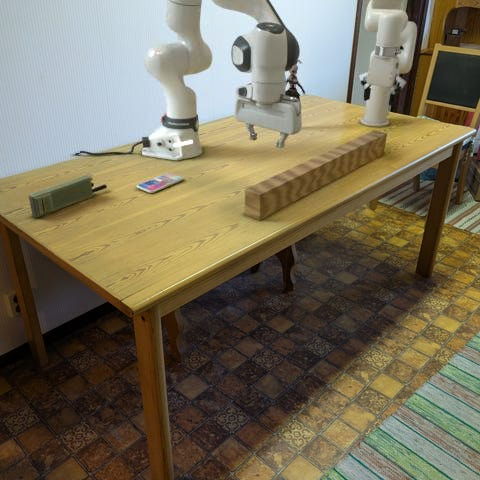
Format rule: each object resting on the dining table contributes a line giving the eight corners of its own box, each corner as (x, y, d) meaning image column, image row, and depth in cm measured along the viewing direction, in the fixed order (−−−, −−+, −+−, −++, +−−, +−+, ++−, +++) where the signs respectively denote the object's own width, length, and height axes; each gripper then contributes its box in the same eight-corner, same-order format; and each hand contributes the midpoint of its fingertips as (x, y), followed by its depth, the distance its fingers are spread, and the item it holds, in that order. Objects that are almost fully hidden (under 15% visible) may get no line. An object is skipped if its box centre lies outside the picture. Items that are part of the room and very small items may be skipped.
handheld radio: (30, 215, 144) (102, 188, 161) (37, 219, 142) (109, 191, 159) (26, 193, 140) (100, 168, 157) (33, 197, 138) (107, 171, 155)
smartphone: (184, 177, 167) (150, 191, 157) (184, 180, 167) (151, 194, 157) (168, 171, 171) (134, 185, 161) (168, 174, 171) (135, 188, 161)
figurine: (282, 133, 213) (286, 58, 198) (272, 129, 216) (275, 56, 202) (305, 126, 221) (311, 54, 206) (295, 123, 225) (300, 52, 210)
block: (259, 220, 143) (260, 194, 139) (244, 214, 146) (244, 189, 142) (384, 153, 193) (387, 133, 189) (371, 150, 196) (373, 130, 192)
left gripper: (308, 96, 127) (304, 149, 133) (246, 83, 138) (245, 133, 145) (294, 100, 122) (290, 155, 129) (230, 87, 134) (230, 138, 141)
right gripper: (415, 53, 170) (406, 104, 178) (368, 47, 179) (362, 96, 188) (405, 56, 165) (396, 108, 173) (358, 50, 175) (352, 100, 183)
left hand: (266, 143), depth 137 cm, fingers open, 8 cm apart
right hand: (378, 102), depth 181 cm, fingers open, 9 cm apart
